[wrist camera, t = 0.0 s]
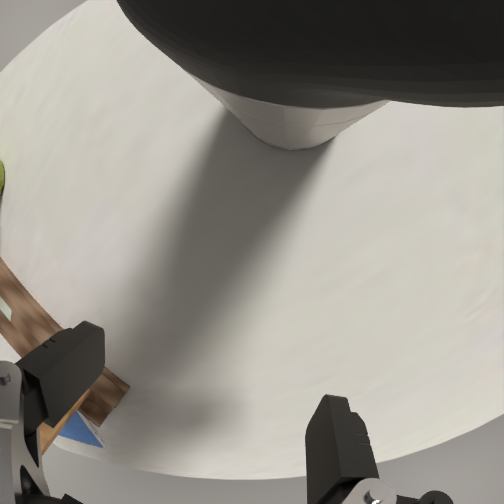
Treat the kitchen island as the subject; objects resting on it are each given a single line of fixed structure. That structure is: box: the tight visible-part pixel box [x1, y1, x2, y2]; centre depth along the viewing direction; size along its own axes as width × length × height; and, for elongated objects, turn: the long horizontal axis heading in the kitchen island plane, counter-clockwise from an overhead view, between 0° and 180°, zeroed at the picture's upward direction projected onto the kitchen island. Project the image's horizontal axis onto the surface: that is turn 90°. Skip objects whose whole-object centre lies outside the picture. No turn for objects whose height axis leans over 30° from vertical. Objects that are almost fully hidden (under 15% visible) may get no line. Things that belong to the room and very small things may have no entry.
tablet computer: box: [58, 411, 106, 448], centre depth 39 cm, size 19×13×1 cm, turn 102°
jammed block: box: [39, 388, 91, 456], centre depth 25 cm, size 6×6×15 cm
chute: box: [0, 258, 130, 427], centre depth 31 cm, size 30×10×4 cm, turn 51°
